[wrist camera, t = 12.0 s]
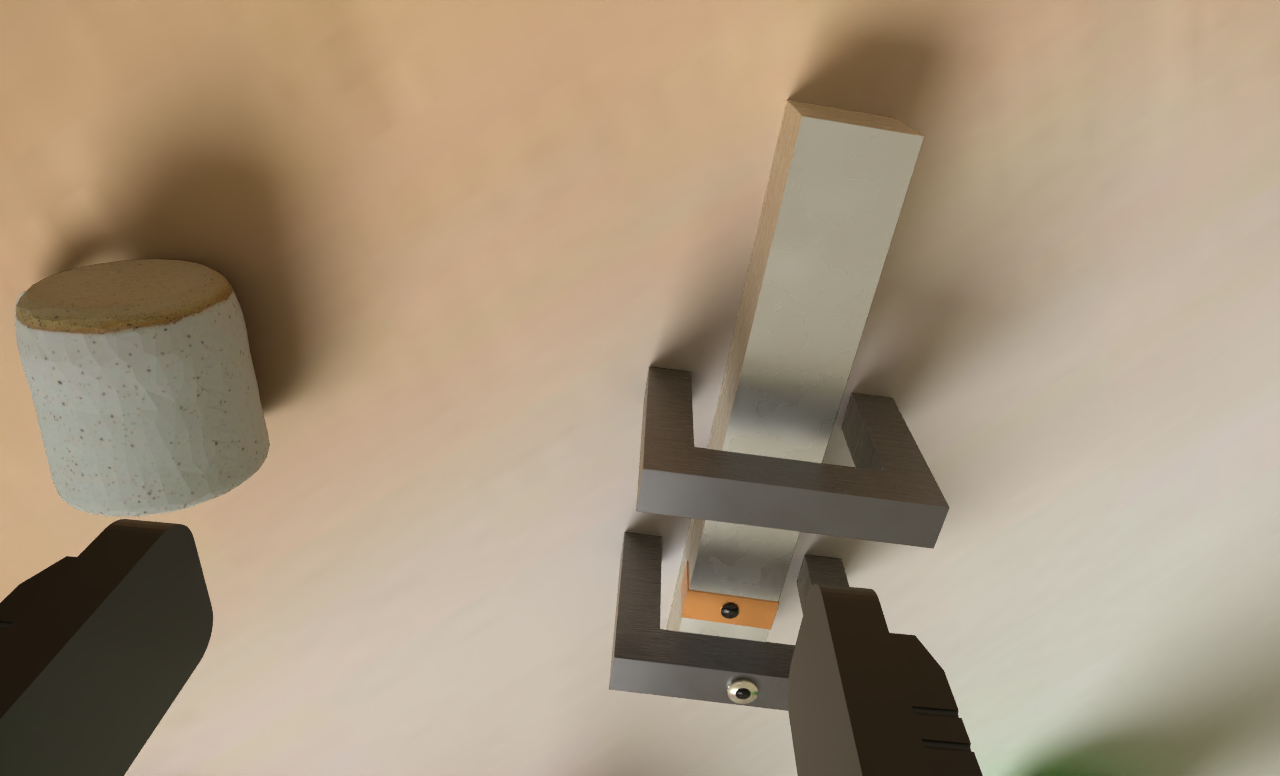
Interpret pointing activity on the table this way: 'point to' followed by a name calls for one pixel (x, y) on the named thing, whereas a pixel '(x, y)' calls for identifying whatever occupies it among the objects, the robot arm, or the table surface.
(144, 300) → the ceramic mug
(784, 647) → the collar
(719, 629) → the orange banded bar
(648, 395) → the collar
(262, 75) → the table surface
